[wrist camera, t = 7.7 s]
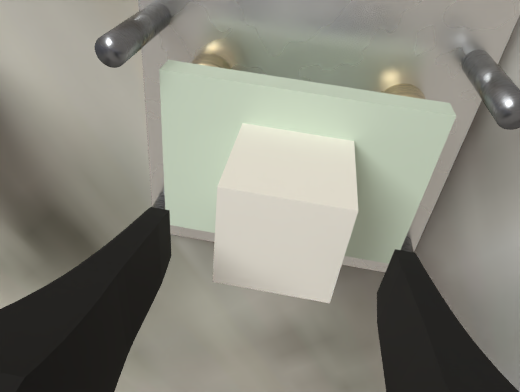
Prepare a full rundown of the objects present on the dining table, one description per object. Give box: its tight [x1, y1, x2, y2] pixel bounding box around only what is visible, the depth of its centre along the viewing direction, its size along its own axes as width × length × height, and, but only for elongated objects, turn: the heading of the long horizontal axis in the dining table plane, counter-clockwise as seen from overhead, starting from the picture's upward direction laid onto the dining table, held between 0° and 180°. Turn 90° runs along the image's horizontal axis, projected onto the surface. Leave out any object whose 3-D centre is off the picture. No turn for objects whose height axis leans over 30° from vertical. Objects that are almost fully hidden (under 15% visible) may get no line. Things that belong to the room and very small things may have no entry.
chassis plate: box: [95, 0, 520, 272], centre depth 18 cm, size 14×14×6 cm
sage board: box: [159, 60, 456, 303], centre depth 15 cm, size 10×7×5 cm
